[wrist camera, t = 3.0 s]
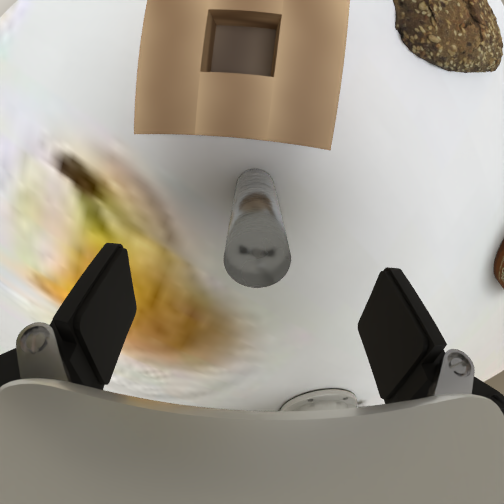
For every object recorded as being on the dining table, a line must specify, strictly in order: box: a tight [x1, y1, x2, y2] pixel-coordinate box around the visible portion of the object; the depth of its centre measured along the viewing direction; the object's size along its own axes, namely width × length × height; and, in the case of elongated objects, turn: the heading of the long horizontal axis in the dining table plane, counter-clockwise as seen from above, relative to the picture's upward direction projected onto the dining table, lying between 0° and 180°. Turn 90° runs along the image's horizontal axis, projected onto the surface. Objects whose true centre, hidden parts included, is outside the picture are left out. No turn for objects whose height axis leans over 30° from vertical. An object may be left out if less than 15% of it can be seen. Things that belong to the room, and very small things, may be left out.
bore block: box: [134, 0, 350, 150], centre depth 15 cm, size 12×12×5 cm
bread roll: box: [393, 0, 503, 73], centre depth 11 cm, size 13×12×5 cm
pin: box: [224, 169, 291, 288], centre depth 18 cm, size 3×3×11 cm
